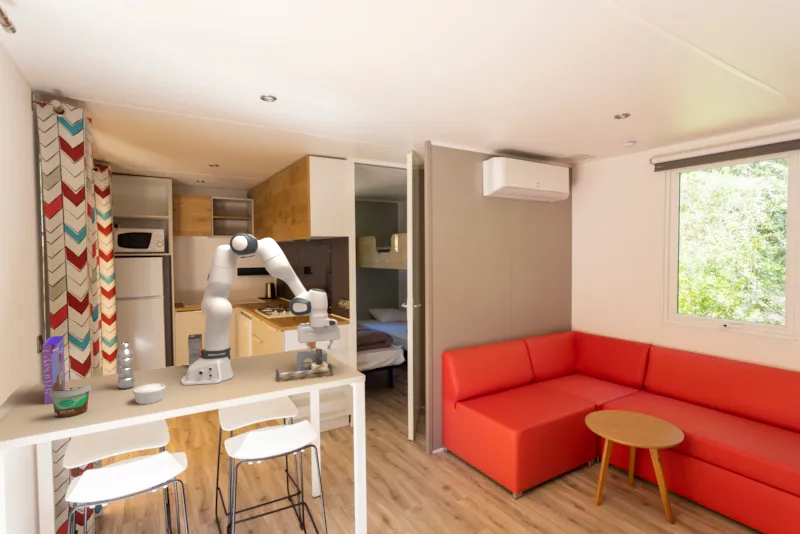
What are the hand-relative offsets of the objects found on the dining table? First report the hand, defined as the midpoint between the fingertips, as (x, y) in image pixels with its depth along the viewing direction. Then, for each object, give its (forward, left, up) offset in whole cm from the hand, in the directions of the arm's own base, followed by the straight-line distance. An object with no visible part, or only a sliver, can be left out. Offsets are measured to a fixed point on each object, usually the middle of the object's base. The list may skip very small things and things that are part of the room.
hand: (319, 350), depth 198 cm
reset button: (-2, +9, -1) cm, 10 cm away
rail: (-7, 0, -12) cm, 14 cm away
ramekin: (-70, -9, -13) cm, 72 cm away
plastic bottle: (-83, +12, -12) cm, 85 cm away
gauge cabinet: (-2, +9, -12) cm, 15 cm away
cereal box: (-108, +10, -12) cm, 109 cm away
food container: (-94, -16, -12) cm, 97 cm away
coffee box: (-58, +39, -12) cm, 72 cm away
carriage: (0, 0, -10) cm, 10 cm away
